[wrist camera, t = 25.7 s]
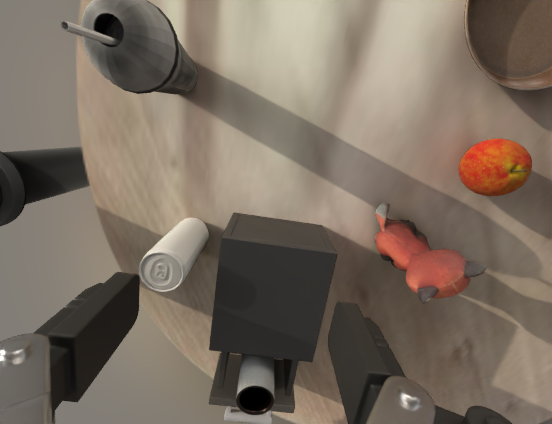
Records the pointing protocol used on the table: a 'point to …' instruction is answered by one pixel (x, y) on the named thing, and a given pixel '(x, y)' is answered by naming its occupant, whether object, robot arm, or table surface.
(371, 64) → the table surface
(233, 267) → the cabinet
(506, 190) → the fruit
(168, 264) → the beverage can
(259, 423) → the drawer
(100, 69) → the beverage cup
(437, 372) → the table surface
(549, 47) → the plant saucer
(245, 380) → the grey hollow cylinder
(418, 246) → the stuffed fox
